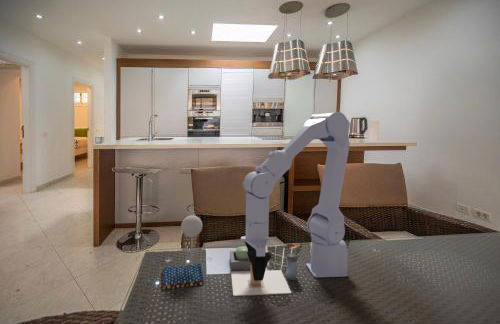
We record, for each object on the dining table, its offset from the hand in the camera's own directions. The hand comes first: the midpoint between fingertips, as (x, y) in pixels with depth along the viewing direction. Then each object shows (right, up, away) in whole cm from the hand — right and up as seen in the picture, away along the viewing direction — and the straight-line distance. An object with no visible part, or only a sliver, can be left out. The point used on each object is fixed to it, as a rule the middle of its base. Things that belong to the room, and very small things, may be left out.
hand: (256, 272), depth 75 cm
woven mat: (-20, -3, +3) cm, 20 cm away
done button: (-3, -1, +12) cm, 12 cm away
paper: (+1, -3, +1) cm, 3 cm away
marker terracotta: (0, -3, 0) cm, 3 cm away
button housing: (-3, -2, +12) cm, 13 cm away
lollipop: (-18, -2, +9) cm, 21 cm away
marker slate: (+10, -3, +4) cm, 11 cm away
